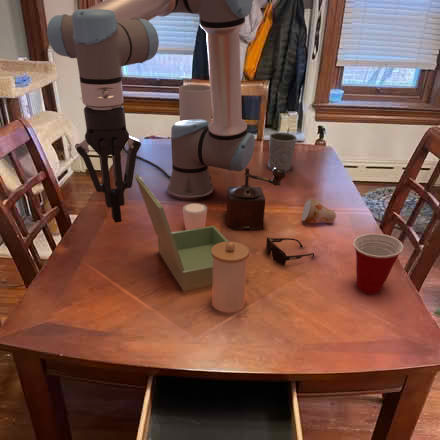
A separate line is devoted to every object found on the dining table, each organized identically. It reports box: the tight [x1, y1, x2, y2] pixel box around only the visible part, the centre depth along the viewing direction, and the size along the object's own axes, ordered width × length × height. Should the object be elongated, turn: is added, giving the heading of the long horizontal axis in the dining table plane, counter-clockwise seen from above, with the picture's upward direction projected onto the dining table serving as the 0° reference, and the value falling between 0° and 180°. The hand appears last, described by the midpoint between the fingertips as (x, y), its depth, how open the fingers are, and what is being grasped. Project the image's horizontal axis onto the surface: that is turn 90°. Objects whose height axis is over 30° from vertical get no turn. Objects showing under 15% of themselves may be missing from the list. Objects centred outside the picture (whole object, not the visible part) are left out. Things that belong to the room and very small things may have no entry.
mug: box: [301, 198, 337, 224], centre depth 137 cm, size 8×10×10 cm
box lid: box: [134, 174, 184, 272], centre depth 105 cm, size 16×20×1 cm
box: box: [157, 225, 230, 292], centre depth 114 cm, size 16×20×6 cm
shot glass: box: [182, 202, 208, 230], centre depth 131 cm, size 7×7×7 cm
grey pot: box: [267, 132, 297, 172], centre depth 175 cm, size 10×10×12 cm
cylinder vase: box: [178, 84, 212, 126], centre depth 184 cm, size 12×12×25 cm
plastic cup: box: [352, 233, 404, 295], centre depth 107 cm, size 11×11×12 cm
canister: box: [211, 241, 250, 315], centre depth 98 cm, size 8×8×16 cm
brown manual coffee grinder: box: [225, 167, 287, 231], centre depth 133 cm, size 16×11×18 cm
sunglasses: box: [265, 236, 315, 266], centre depth 120 cm, size 10×12×5 cm
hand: (116, 219), depth 100 cm, fingers closed
